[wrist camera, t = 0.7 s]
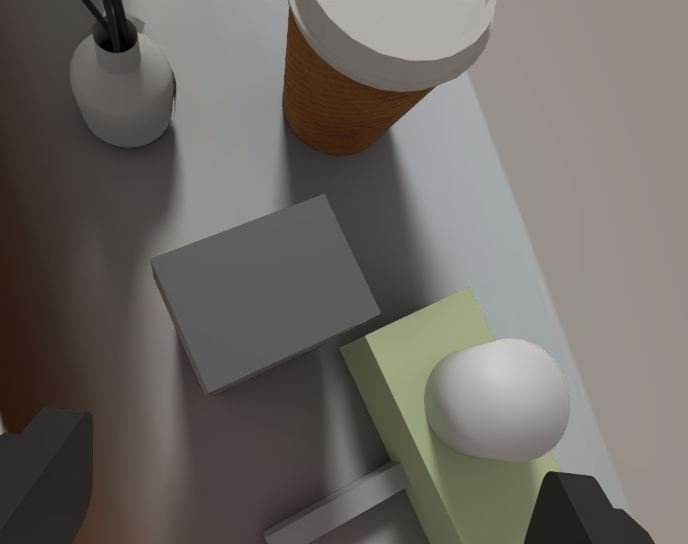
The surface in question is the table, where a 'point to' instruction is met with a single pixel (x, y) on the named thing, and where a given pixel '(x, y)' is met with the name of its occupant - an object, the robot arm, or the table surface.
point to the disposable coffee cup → (373, 63)
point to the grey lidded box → (263, 293)
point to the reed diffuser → (122, 79)
